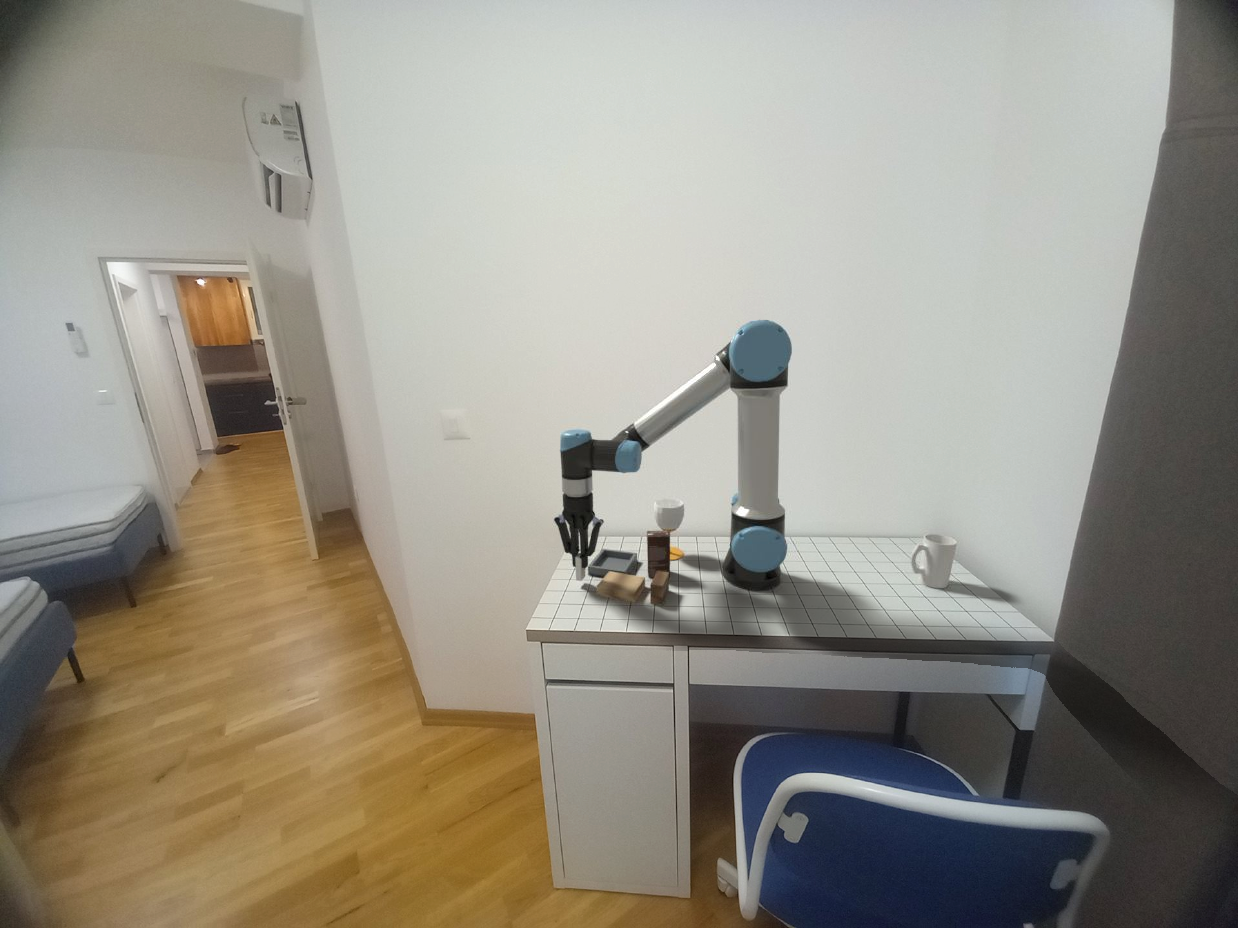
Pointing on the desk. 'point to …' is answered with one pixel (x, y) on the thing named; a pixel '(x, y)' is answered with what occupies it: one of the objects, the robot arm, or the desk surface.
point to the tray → (612, 562)
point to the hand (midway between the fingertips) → (580, 577)
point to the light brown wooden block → (621, 586)
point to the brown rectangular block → (659, 587)
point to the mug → (934, 560)
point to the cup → (670, 519)
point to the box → (658, 552)
